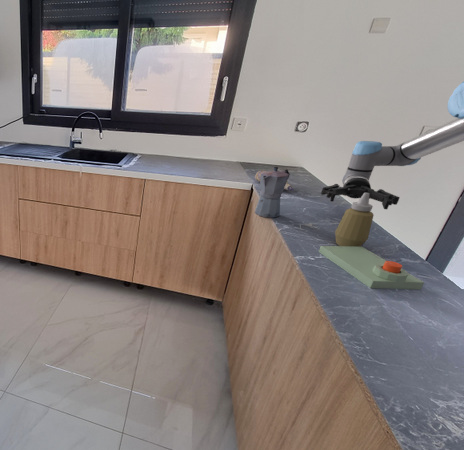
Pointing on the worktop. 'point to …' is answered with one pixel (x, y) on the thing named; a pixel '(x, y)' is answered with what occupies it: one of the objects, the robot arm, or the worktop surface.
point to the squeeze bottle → (355, 224)
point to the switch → (392, 267)
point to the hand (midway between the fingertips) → (359, 201)
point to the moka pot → (271, 192)
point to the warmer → (369, 268)
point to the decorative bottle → (258, 174)
